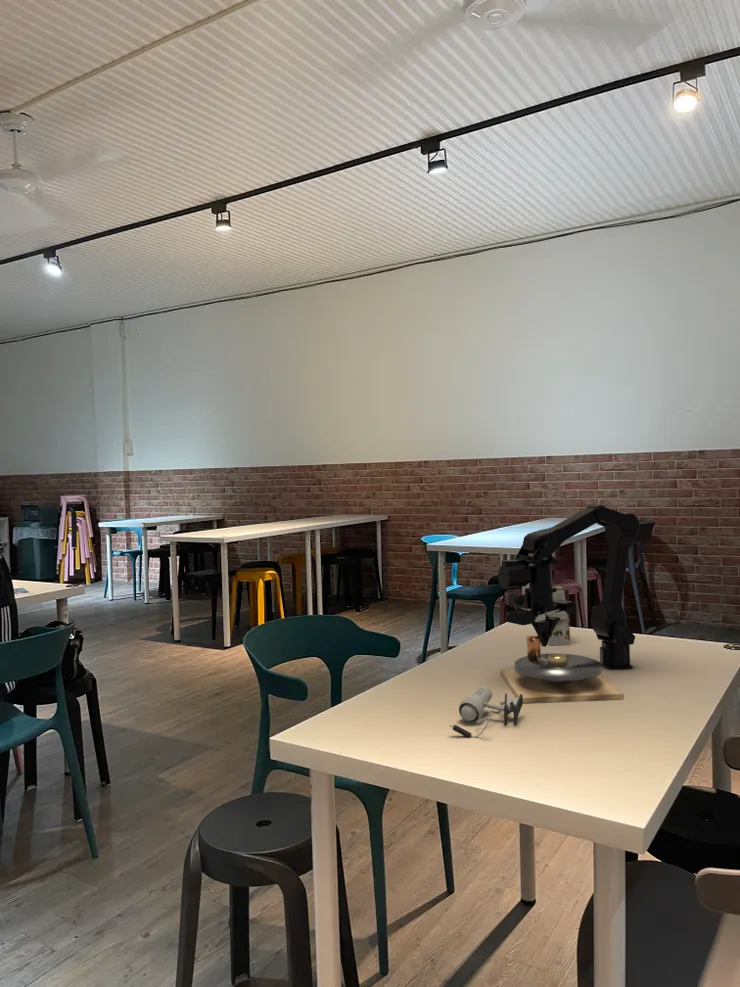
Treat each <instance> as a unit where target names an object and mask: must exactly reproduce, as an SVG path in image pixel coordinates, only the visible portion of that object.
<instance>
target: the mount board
mask: <svg viewBox="0 0 740 987" xmlns="http://www.w3.org/2000/svg"><path fill="white" fill-rule="evenodd" d="M499 672H500V676H501V677H502V679H503V680H504V682H505V683H506V685H507V686H508V688H509V689H510V691H512V694H513V695H514V696H515V698H517V697H519V696H520V694H522V695H523V704H537V703H542V704H543V703H557V702H558V703H562V702H565V703H566V702H567V703H568V702H585V701H587V702H588V701H611V700H614V701H615V700H624V699H625V694H624V693H623V692H622V691H621V690H620V689H619V688H618V687H617V686H616V685H614V684H613V683H612V682H611V681H609V680H608V679H607V678H606V677H605V676H604V675H602V673H601V674H600V675H599V676H597V677H594V678H591V679H587V680H581V681H566V682H561V681H545V680H538V679H533V678H529V677H526V676H523V675H521V674H519V673H517V672H516V671H515V668H512V669H511V668H509V669H508V668H505V669H500V670H499Z"/></svg>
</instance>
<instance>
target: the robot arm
mask: <svg viewBox="0 0 740 987" xmlns="http://www.w3.org/2000/svg"><path fill="white" fill-rule="evenodd" d="M640 523H641V522H640V520H639V519H638V517H637V516H636V515H635V514H634V513H630V512H629V513H628V512H621V511H618V510H613V509H611V508H608V507H606V506H603V505H601V504H600V505H599V504H590V505H588V506H586V508H584V509H582V510H581V511H579V512H577V513H575V514H573V515H571V516H570V517H567V518H566V519H565V520H563V521H560V522H559V523H557V524H556V525H554V526H551V527H548V528H543V529H539V530H535V531H533V532H530V533H529V532H528V533H527V534H526V535H525V536H524V537H523V542H522V545H521V547H520V549H519V550H518V552H517V553H516V555H515V558H514V559H511V560H507V559H506V560H505V559H504V560H501V565H500V567H499V568H498V572H497V579H498V583H499V585H500V587H501V588H502V589H504V590H507V589H512V588H513V589H514V588H523V587H525V589H524V594H521V595H519V593H518V592H513V593H510V594H507V595H508V596H507V597H508V599H507V601H508V605H509V607H510V608H514V609H511V610H509V611H508V612H507V614H506V622H507V623H511V624H515V625H519V626H528V625H531V626H532V627H533V629H534V631H535V633H536V636H539V637H540V646H542V647H544V648H545V647H547V646H548V641H549V639H550V636H551V634H552V632H553V630H554V628H555V626H556V624H557V622H558V621H559V620H560V618H558V617H556V614H555V613H557V612H561V611H565V612H566V613H567V614H569V616H570V615H574V614H577V604H576V603H575V602H574V601H571V600H569V601H566V600H556V601H553V593H554V592H556V588H553V587H552V586H553V572H552V566H556V565H560V561H559V560H557V558H555V557H554V556H553V554H555V552H557V551H558V550H559V549H560V548H561V546H562V544H563V543H565V542H566V541H567V540H569V539H571V538H573V537H575V536H576V535H578V534H579V533H581V532H583V531H584V530H587V529H589V528H591V527H593V526H594V525H596V524H597V525H599V526H600V527H604V535H605V538H606V541H607V544H608V550H607V551H608V552H607V558H606V566H605V574H604V580H603V581H604V583H603V588H602V598H601V601H600V603H599V604H598V605H597V606H594V605H593V606H592V608H591V617H590V619H589V622H590V623H591V629H592V631H593V632H594V633H595V635H596V638H597V640H599V641H601V646H600V647H599V662H600V663H601V665H602V667H604V668H606V669H607V670H614V669H617V670H618V669H633V667H634V666H633V665H632V664H631V649H630V648H631V647H630V645H634V644H635V639H636V635H635V634H634V633H633V632H632V631H631V630H630V629H629V628H628V627H627V616H626V612H625V610H624V607H623V599H624V597H623V595H624V589H625V583H626V582H625V581H626V576H627V575H626V574H627V567H628V560H629V559H628V558H629V552H630V548H631V547H632V545H633V544H634V542H635V541H636V539H637V537H638V534H639V530H640ZM526 586H528V587H526Z"/></svg>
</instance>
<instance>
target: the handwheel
mask: <svg viewBox="0 0 740 987" xmlns="http://www.w3.org/2000/svg"><path fill="white" fill-rule="evenodd" d="M526 649H527V650H526V656H523V657H520V658H518V659H516V660H515V661H514V669H515V671H516V672H517V673H519V674H521V675H523V676H526V677H529V678H533V679H538V680H545V681H561V682H566V681H581V680H587V679H591V678H594V677H597V676H599V675H600V674H601V675H602V672H603V665H602V664H601V663H600V661H599V660H596V659H594V658H591V657H588V656H585V655H584V656H583V655H577V654H570V653H569V654H568V653H559V652H558V653H541V652H542V651H541V642H540V637H539V636H538V635H528V636H526Z"/></svg>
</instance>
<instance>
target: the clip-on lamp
mask: <svg viewBox="0 0 740 987" xmlns="http://www.w3.org/2000/svg"><path fill="white" fill-rule="evenodd" d="M504 694H505V695H504V701H500V703H499V704H500V705H498V704H493V703H489V702H490V701H491V700H492V698H493V691H492V690H491V689H490V688H489V687H488V686H486V685H480V686H478V687H477V689H475V691H474V692H473V693H472V694H471V696H470V697H469V696H468V697H465V698H464V699H462V700H461V702H459V705H458V712H459V713H458V714H459V715H460V717H461V718H462V719H463V721H465V722H467V723H473V724H475V723H476V724H477V725H479V724H481V723H484V722H486V721H487V722H486V725H485V726H484V728H483V729H482V730H481V732H479V734H477V735H472V732H470V731H468V730H466V729H465V728H462V727H460V726H459V725H457V724H454V725H451V724H449V725H448V727H450V728H452V731H454V732H456V733H458V734H460V735H461V736H464V737H466V738H468V739H470V738H478V737H479V736H481V735H482V733H483V732H484V731H485V730H486V729H487V726H488V725H489V723H490V720H491V718H490V717H491V716H492V715H491V714H494V715H498V714H501V712H503V719H504V720H503V722H504V726H507V724H508V723H507V722H508V716H509V715H510V714H511V713H513V726H515V725H516V726H517V724H518V718H519V715H520V712H521V710H522V707H523V705H524V703H523V695H522V694H520V696H519V697H517V698H516V697H515V698H512V697H511V696H510V695H508V693H504ZM486 707H487V709H490V710H489V711H488V712H489V713H488V715H487V716H485V717H483V716H484V713H485V712H484V711H485V710H484V709H486Z"/></svg>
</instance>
